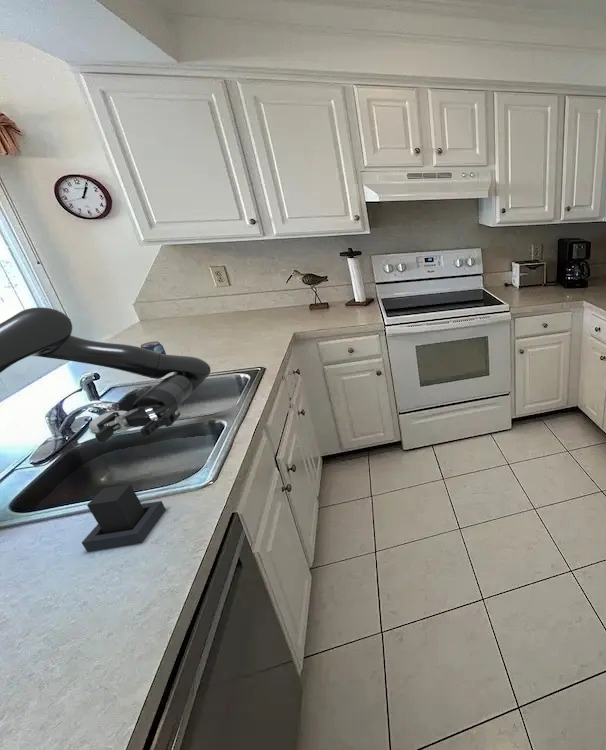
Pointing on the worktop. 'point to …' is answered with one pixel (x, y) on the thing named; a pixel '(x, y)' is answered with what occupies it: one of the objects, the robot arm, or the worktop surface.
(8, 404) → the worktop surface
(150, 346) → the soda can
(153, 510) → the dark square frame
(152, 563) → the worktop surface
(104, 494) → the dark matte cube
